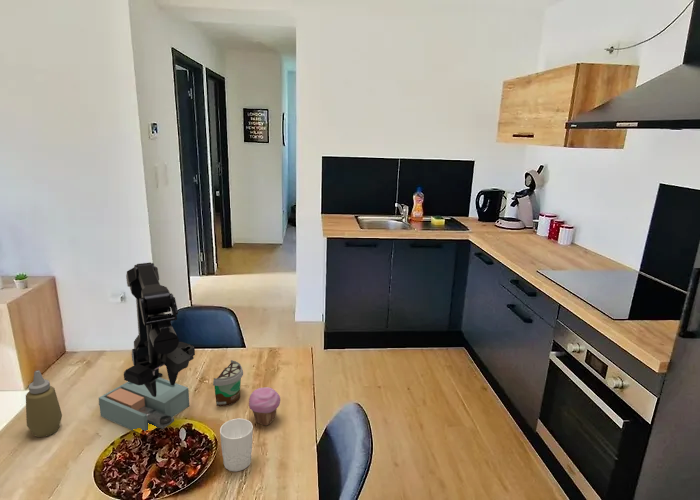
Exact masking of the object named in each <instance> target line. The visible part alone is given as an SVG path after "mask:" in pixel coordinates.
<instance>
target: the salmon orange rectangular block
mask: <svg viewBox="0 0 700 500" xmlns="http://www.w3.org/2000/svg"><path fill="white" fill-rule="evenodd" d="M107 398H108V399H110V400H113V401H115V402H117V403H120V404H122V405H125V406H127V407H129V408H132V409H134V410H139V409H140V408H142V407H144V406H145V400H144V397H141V396H139V395H136V394H134V393H131V392H129V391H126V390H124V389H121V388H119V389H118V390H116V391H114V392H112V393H110V394H109V395H107Z"/></svg>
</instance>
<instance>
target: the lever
mask: <svg viewBox="0 0 700 500" xmlns="http://www.w3.org/2000/svg"><path fill="white" fill-rule="evenodd" d="M137 411H139V412H142V413H144V414H146V415H147V423H149V424H152V425H154V426H156V427H158V429H161V430H164V429H165V428H167V427H168V426H169V425H171V424H172V423H174V422H175V417H171V416H168V415H166V414H163V413H161V412H158V411H156V410H155V409H151V408H148V407H146V406H144V407H142V408H140V409H139V410H137Z"/></svg>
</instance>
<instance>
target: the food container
mask: <svg viewBox="0 0 700 500" xmlns="http://www.w3.org/2000/svg"><path fill="white" fill-rule="evenodd" d="M243 377H244V371H243V366H242V365H241V363H239V361H236V360H232V359H230V363H229V365H228V366H227V367H226V368H224V369H223V370H222V371H221V372H220V374H219V376H218V377H217V378H213V381H212V386H213V387H214V394H215V395H214V396H215V404H216V407H227V406H231V405H233V404H235V403H237V402H238V401H239V400H240V397H241V381H242V378H243Z"/></svg>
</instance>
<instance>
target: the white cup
mask: <svg viewBox="0 0 700 500" xmlns="http://www.w3.org/2000/svg"><path fill="white" fill-rule="evenodd" d="M253 429H254V428H253V423H252V422H251V421H250V420H249V419H246V418H233V419H229V420H227V421H225V422H224V423H223V424H222V425H221V426H220V428H219V433H220V434H219V435H220V437H219V438H220V445H221V446H220V447H221V454H222V460H223V461H222V463H223V465H224V468H225V469H227V470H228V471H229V472H239V471H243V470H245V469H247V468H248V467H249V466H250V464H251V462H252V451H253V435H254V434H253V432H254V431H253Z"/></svg>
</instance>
